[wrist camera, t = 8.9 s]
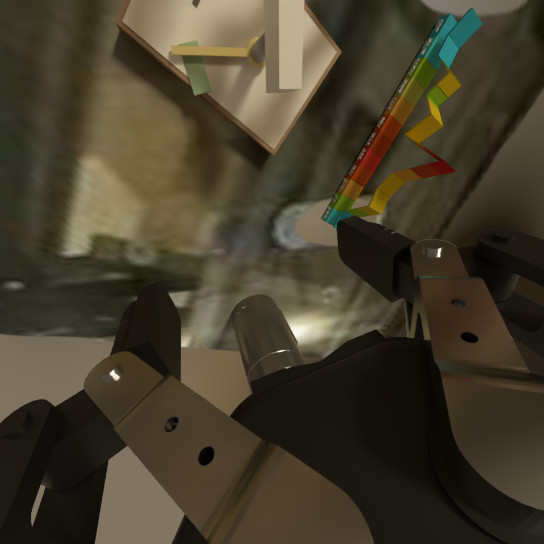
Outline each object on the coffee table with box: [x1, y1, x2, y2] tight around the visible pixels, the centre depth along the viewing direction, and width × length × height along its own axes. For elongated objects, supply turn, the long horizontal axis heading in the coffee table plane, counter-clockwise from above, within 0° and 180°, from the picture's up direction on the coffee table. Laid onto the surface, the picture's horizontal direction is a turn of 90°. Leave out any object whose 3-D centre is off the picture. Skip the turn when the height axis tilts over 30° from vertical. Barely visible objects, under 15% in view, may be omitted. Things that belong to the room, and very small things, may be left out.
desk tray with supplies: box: [115, 0, 341, 155], centre depth 28 cm, size 20×15×3 cm
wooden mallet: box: [171, 0, 304, 93], centre depth 23 cm, size 10×8×10 cm
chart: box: [321, 8, 482, 229], centre depth 34 cm, size 30×3×15 cm, turn 150°
